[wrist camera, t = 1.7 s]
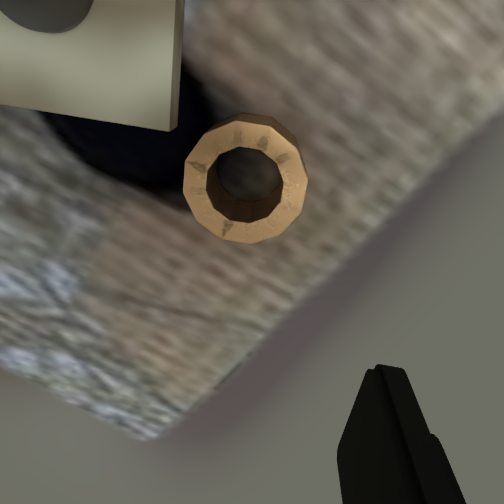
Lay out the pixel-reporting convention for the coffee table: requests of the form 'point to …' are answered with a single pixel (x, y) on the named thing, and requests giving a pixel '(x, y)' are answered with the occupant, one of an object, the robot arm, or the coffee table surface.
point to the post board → (94, 59)
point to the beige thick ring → (237, 211)
